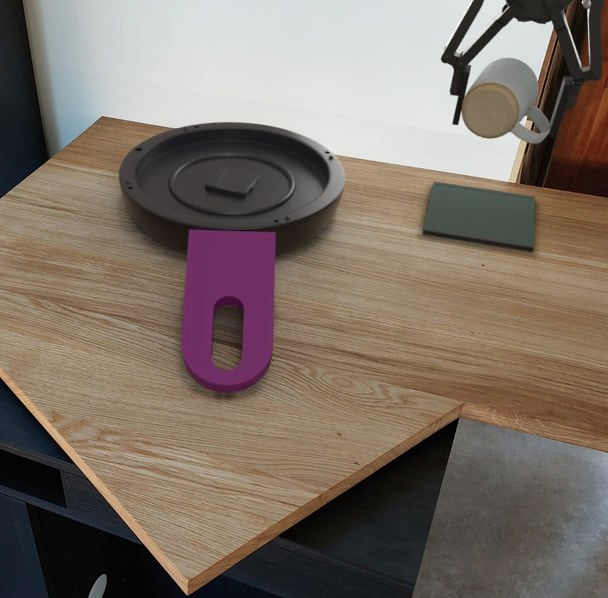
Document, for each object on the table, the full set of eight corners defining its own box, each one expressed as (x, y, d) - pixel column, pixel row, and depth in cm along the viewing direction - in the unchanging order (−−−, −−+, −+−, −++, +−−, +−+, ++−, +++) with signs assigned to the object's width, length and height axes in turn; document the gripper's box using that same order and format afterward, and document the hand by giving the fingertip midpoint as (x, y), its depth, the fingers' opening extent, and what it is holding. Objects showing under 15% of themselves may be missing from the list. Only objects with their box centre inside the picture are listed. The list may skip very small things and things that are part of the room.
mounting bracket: (268, 415, 85) (272, 271, 92) (272, 386, 77) (276, 232, 84) (182, 411, 86) (192, 268, 92) (177, 382, 78) (189, 229, 84)
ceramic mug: (452, 134, 97) (466, 72, 92) (470, 110, 102) (485, 51, 97) (538, 155, 93) (558, 92, 88) (552, 130, 98) (573, 69, 93)
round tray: (363, 178, 114) (176, 143, 122) (369, 139, 110) (174, 105, 117) (303, 289, 93) (81, 238, 101) (307, 246, 89) (76, 197, 97)
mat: (533, 200, 110) (535, 196, 109) (532, 252, 100) (534, 247, 99) (433, 185, 112) (434, 181, 112) (422, 234, 103) (423, 230, 102)
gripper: (441, -74, 82) (405, 126, 97) (678, -54, 78) (603, 153, 92) (447, -89, 88) (412, 103, 103) (669, -71, 83) (600, 127, 98)
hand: (503, 126), depth 97 cm, fingers closed on ceramic mug, 11 cm apart
